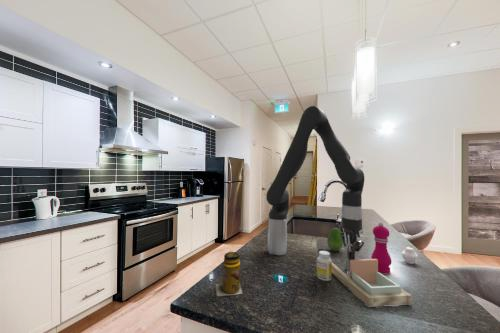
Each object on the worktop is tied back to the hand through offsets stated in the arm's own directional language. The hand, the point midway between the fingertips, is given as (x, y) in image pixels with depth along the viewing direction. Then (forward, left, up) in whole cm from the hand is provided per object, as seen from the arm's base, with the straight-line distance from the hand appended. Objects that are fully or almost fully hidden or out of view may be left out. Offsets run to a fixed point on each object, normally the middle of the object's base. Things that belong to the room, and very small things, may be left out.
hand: (351, 260), depth 83 cm
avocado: (+7, +26, -6) cm, 28 cm away
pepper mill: (+15, +3, -6) cm, 17 cm away
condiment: (-49, -6, -6) cm, 49 cm away
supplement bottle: (-12, -1, -6) cm, 13 cm away
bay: (0, -7, -6) cm, 9 cm away
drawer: (0, -13, -6) cm, 14 cm away
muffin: (+34, +9, -6) cm, 36 cm away
